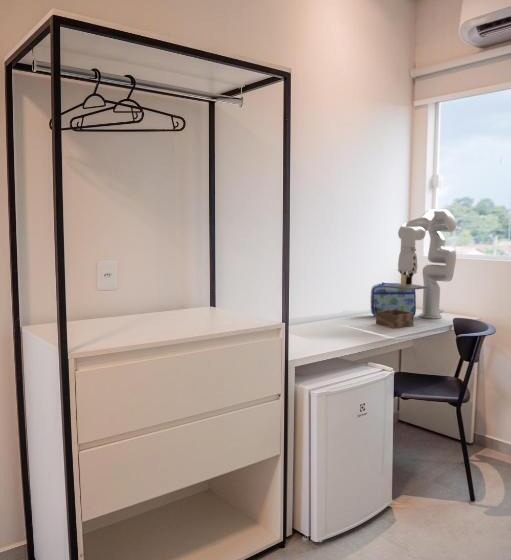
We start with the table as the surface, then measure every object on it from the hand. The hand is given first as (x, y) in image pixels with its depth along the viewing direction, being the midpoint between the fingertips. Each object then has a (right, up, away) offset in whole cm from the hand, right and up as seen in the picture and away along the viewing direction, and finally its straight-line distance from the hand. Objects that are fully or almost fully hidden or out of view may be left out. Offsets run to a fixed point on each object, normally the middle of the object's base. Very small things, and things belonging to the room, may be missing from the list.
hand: (406, 283), depth 285 cm
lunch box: (-1, -21, +29) cm, 35 cm away
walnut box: (-6, -23, +2) cm, 24 cm away
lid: (0, -2, 0) cm, 2 cm away
